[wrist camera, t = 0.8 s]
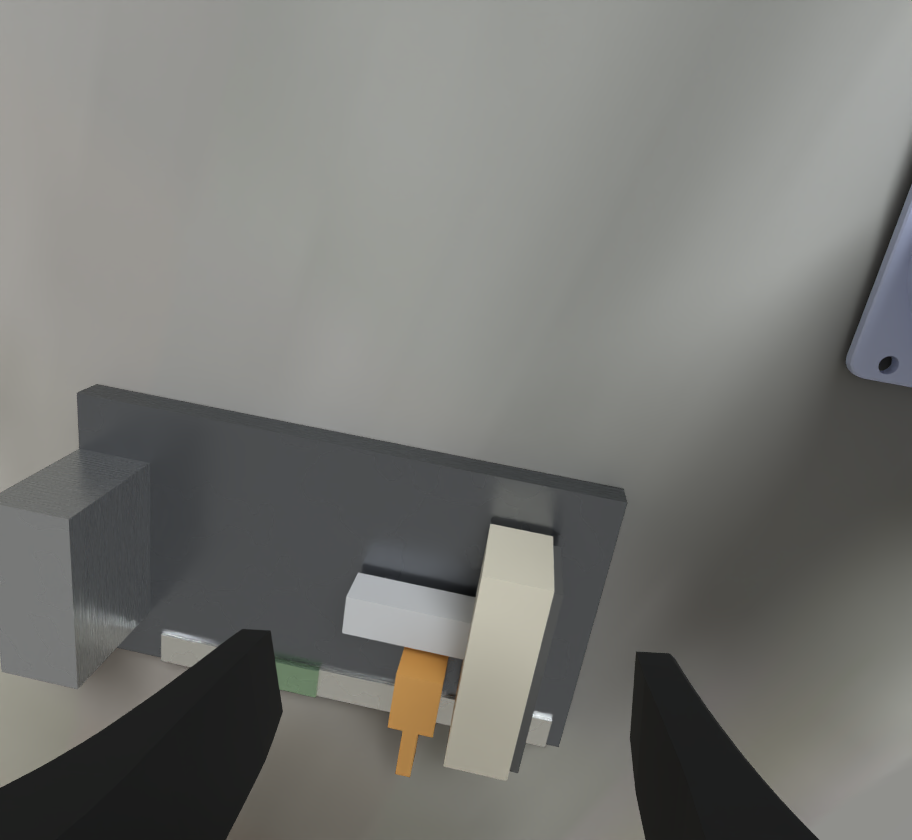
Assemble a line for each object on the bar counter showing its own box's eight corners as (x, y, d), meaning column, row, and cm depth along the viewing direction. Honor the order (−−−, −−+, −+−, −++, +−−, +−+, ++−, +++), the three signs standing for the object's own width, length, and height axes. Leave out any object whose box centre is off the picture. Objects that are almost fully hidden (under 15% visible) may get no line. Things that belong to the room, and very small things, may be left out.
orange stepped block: (451, 642, 22) (442, 684, 21) (433, 734, 24) (424, 780, 22) (408, 633, 22) (395, 674, 21) (393, 725, 24) (381, 770, 22)
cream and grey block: (562, 538, 21) (565, 593, 18) (519, 710, 23) (516, 783, 20) (367, 498, 21) (340, 546, 18) (345, 671, 23) (318, 737, 21)
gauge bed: (623, 488, 21) (646, 573, 16) (558, 725, 25) (561, 851, 20) (96, 384, 22) (-23, 436, 18) (104, 624, 26) (7, 720, 21)
